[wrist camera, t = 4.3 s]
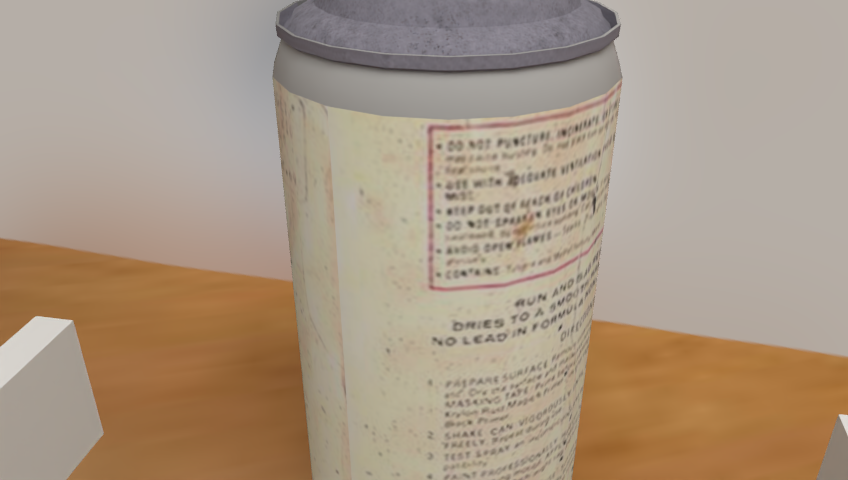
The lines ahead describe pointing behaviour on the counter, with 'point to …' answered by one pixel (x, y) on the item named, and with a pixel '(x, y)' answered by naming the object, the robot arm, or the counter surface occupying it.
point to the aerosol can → (445, 228)
